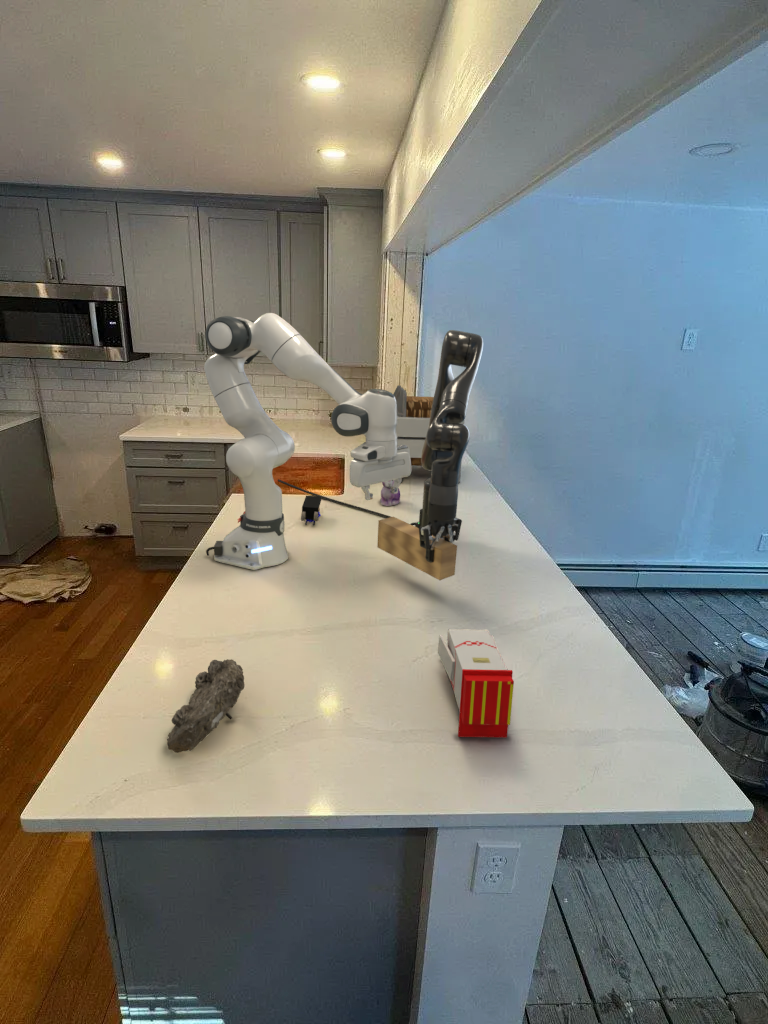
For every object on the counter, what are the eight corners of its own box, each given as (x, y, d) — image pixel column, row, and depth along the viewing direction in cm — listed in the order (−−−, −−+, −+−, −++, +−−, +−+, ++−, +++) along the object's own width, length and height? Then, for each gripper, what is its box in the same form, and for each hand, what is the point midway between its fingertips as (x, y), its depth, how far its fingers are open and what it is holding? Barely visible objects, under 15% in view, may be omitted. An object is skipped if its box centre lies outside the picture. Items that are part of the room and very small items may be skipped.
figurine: (385, 507, 225) (387, 471, 220) (373, 500, 233) (375, 464, 228) (406, 505, 229) (408, 469, 224) (394, 497, 237) (395, 462, 232)
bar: (454, 575, 153) (457, 545, 150) (439, 580, 149) (442, 550, 147) (391, 543, 172) (393, 516, 169) (377, 547, 168) (378, 520, 165)
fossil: (192, 660, 117) (244, 628, 112) (224, 691, 120) (276, 661, 115) (142, 746, 98) (202, 712, 93) (182, 779, 101) (242, 748, 96)
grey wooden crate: (382, 463, 289) (386, 382, 275) (445, 464, 293) (451, 384, 279) (390, 482, 257) (394, 392, 243) (460, 483, 261) (468, 394, 247)
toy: (488, 613, 130) (523, 677, 101) (484, 667, 133) (517, 744, 104) (435, 612, 130) (455, 676, 101) (432, 666, 133) (451, 743, 103)
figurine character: (319, 531, 202) (322, 512, 216) (318, 512, 199) (322, 494, 212) (300, 530, 202) (304, 511, 216) (299, 511, 199) (304, 493, 212)
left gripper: (401, 442, 166) (401, 487, 171) (345, 452, 154) (346, 500, 158) (416, 445, 162) (415, 491, 166) (359, 456, 149) (360, 506, 154)
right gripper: (451, 491, 154) (446, 548, 160) (412, 500, 145) (408, 560, 151) (472, 498, 149) (466, 557, 154) (433, 508, 140) (428, 570, 145)
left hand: (381, 496), depth 162 cm, fingers open, 8 cm apart
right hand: (438, 558), depth 153 cm, fingers closed on bar, 5 cm apart
